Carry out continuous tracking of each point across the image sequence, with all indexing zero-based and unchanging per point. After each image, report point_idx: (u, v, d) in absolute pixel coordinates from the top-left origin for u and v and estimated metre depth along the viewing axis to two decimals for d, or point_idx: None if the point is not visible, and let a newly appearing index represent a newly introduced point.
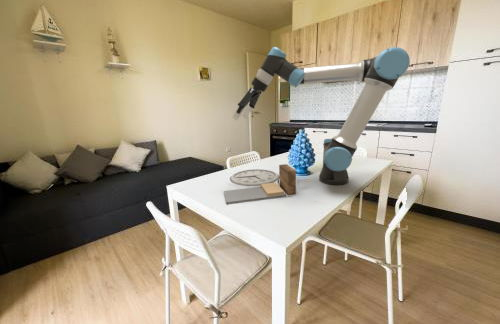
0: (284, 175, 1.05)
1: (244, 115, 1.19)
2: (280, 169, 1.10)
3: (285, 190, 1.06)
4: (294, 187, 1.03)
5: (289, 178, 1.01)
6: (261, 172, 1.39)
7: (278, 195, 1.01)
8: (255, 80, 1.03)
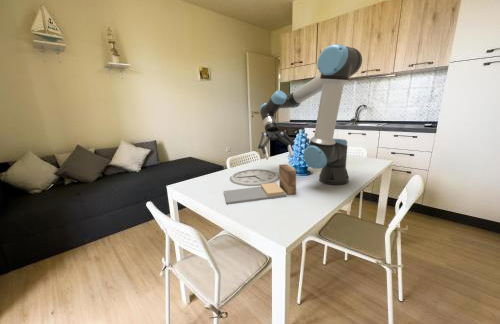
0: (284, 175, 1.05)
1: (290, 154, 1.17)
2: (280, 169, 1.10)
3: (285, 190, 1.06)
4: (294, 187, 1.03)
5: (289, 178, 1.01)
6: (261, 172, 1.39)
7: (278, 195, 1.01)
8: None
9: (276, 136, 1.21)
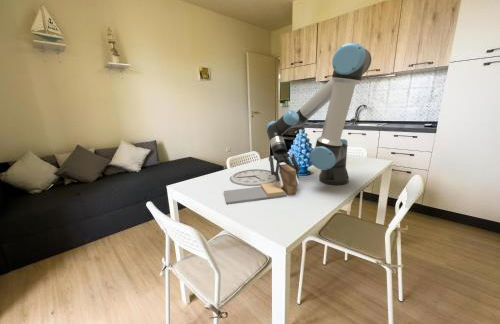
0: (284, 175, 1.05)
1: (296, 183, 1.06)
2: (280, 169, 1.10)
3: (285, 190, 1.06)
4: (294, 187, 1.03)
5: (289, 178, 1.01)
6: (261, 172, 1.39)
7: (278, 195, 1.01)
8: None
9: (284, 158, 1.11)
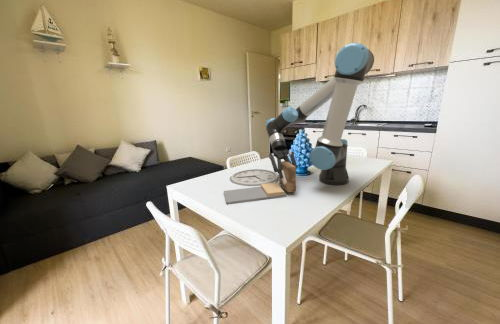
0: (284, 171, 1.05)
1: None
2: None
3: (285, 187, 1.05)
4: (294, 183, 1.02)
5: (289, 174, 1.01)
6: (261, 172, 1.39)
7: (278, 195, 1.01)
8: None
9: (284, 155, 1.11)
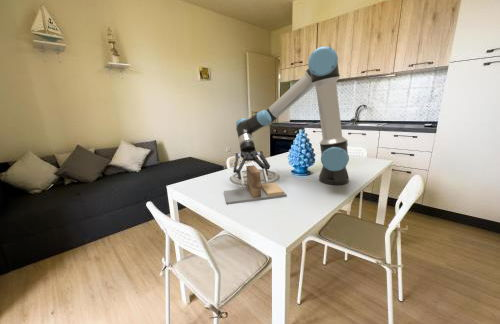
0: (249, 176, 1.02)
1: (265, 180, 1.03)
2: (247, 170, 1.07)
3: (251, 192, 1.02)
4: (258, 189, 0.99)
5: (253, 179, 0.98)
6: (261, 172, 1.39)
7: (278, 195, 1.01)
8: None
9: (252, 157, 1.08)
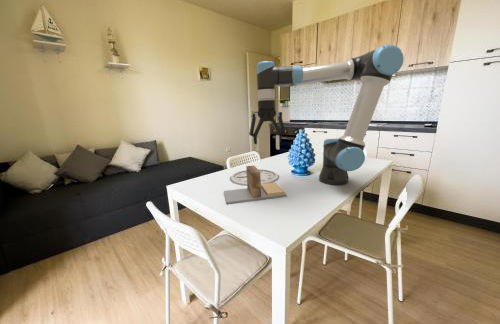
0: (249, 176, 1.02)
1: (276, 146, 1.03)
2: (247, 170, 1.07)
3: (251, 192, 1.02)
4: (258, 189, 0.99)
5: (253, 179, 0.98)
6: (261, 172, 1.39)
7: (278, 195, 1.01)
8: None
9: (269, 119, 0.98)
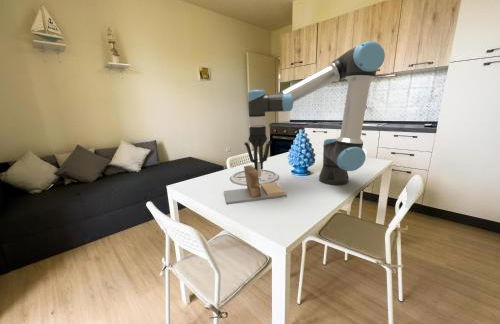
0: (247, 177, 1.02)
1: None
2: (245, 171, 1.07)
3: (250, 192, 1.02)
4: (258, 188, 0.99)
5: (251, 180, 0.98)
6: (261, 172, 1.39)
7: (278, 195, 1.01)
8: None
9: None
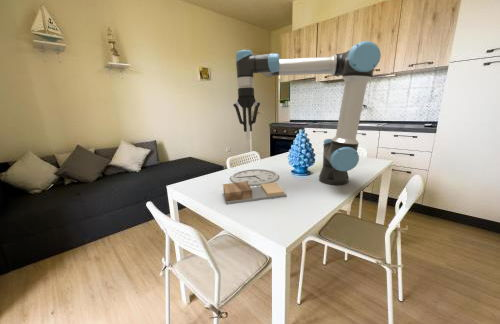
0: None
1: None
2: None
3: None
4: (243, 192, 0.98)
5: (233, 199, 0.98)
6: (261, 172, 1.39)
7: (278, 195, 1.01)
8: None
9: None
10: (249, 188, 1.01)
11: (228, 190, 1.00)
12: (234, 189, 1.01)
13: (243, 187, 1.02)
